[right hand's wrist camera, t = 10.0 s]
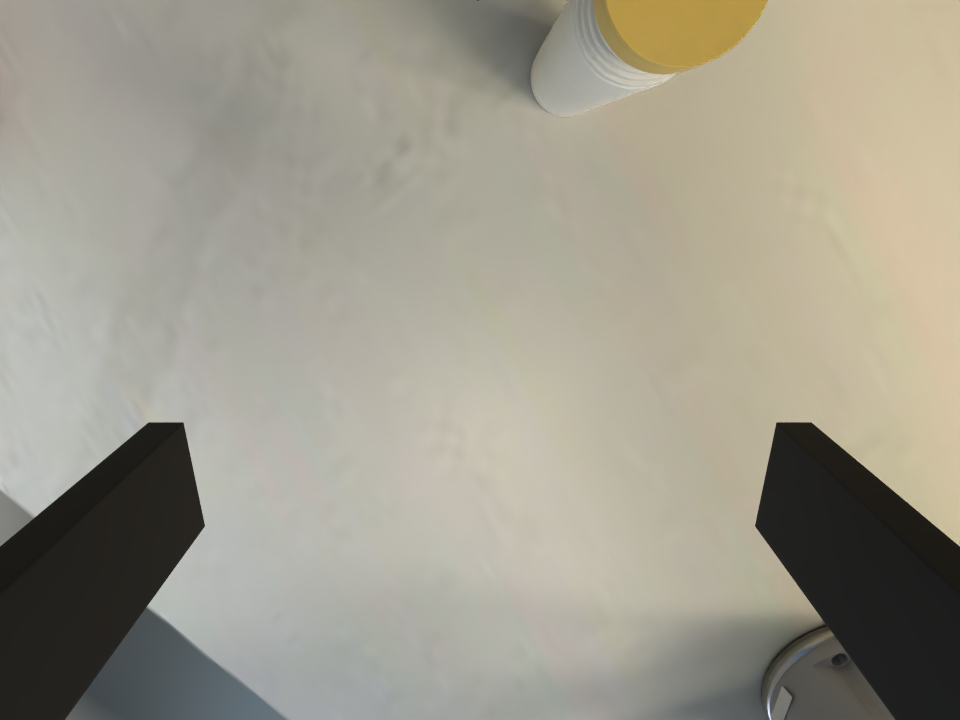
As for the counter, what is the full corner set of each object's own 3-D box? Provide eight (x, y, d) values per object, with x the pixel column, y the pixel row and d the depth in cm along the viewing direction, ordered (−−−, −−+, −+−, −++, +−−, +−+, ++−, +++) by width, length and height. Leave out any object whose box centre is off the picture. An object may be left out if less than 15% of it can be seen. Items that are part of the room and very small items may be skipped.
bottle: (606, 112, 36) (769, 61, 16) (534, 122, 36) (600, 84, 16) (603, 29, 34) (779, -148, 14) (527, 40, 34) (591, -120, 14)
